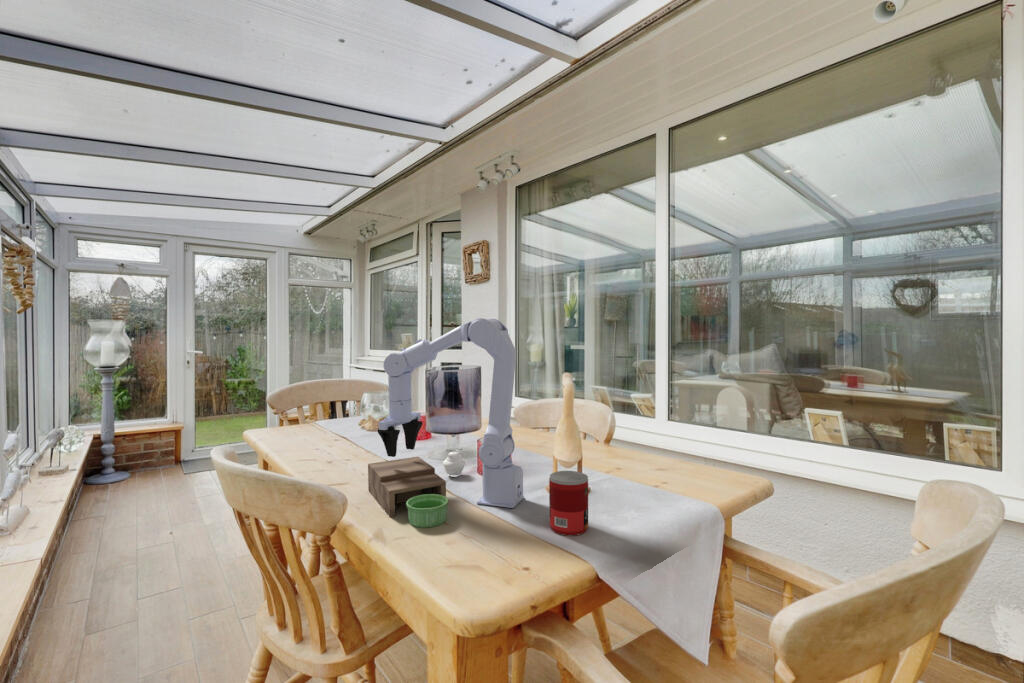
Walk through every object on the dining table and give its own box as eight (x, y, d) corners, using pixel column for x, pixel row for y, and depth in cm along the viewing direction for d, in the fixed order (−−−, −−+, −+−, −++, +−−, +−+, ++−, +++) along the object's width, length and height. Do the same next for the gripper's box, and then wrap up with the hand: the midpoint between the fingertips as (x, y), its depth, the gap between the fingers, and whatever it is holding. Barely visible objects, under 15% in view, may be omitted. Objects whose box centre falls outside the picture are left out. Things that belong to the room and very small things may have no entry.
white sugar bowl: (467, 472, 138) (466, 448, 138) (462, 479, 132) (462, 454, 132) (446, 472, 139) (445, 448, 138) (440, 478, 133) (440, 453, 132)
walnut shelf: (446, 505, 113) (445, 476, 112) (389, 517, 106) (389, 485, 106) (418, 482, 130) (418, 456, 130) (368, 490, 123) (368, 463, 123)
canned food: (593, 534, 96) (593, 480, 96) (554, 537, 95) (554, 483, 95) (581, 519, 104) (581, 469, 103) (545, 522, 102) (545, 471, 102)
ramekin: (455, 515, 107) (455, 496, 107) (435, 532, 98) (435, 510, 98) (420, 510, 110) (420, 491, 110) (398, 526, 101) (398, 505, 101)
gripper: (405, 395, 131) (406, 444, 131) (368, 403, 117) (369, 458, 118) (426, 396, 128) (427, 447, 128) (391, 404, 114) (392, 461, 115)
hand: (401, 452), depth 123 cm, fingers open, 7 cm apart
